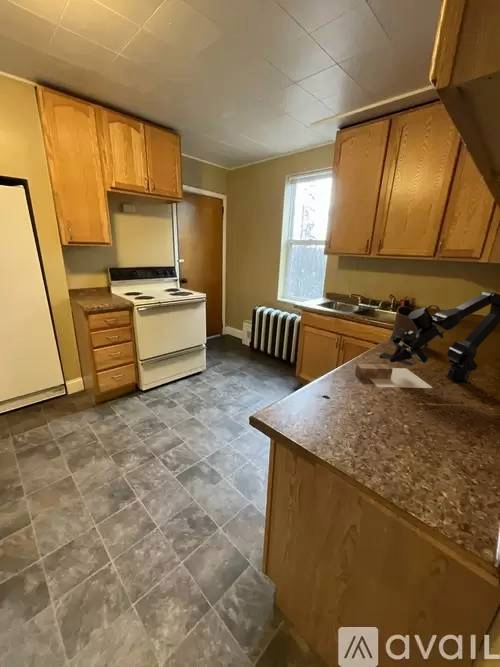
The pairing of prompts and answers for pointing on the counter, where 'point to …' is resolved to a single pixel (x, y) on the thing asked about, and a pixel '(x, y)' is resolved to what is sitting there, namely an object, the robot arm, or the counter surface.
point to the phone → (388, 356)
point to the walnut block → (373, 371)
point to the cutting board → (401, 380)
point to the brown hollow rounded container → (406, 320)
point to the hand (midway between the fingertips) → (390, 361)
